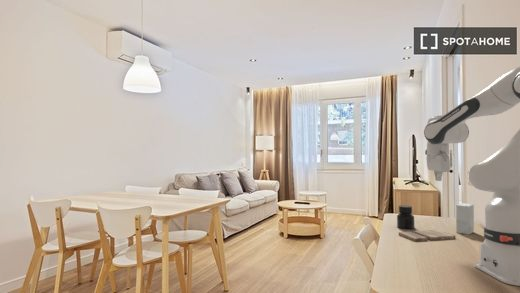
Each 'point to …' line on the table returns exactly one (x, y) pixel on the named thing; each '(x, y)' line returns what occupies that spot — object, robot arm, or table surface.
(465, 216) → the skincare box
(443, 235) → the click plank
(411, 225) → the ink bottle
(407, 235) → the laid plank
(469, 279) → the table surface
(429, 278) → the table surface
